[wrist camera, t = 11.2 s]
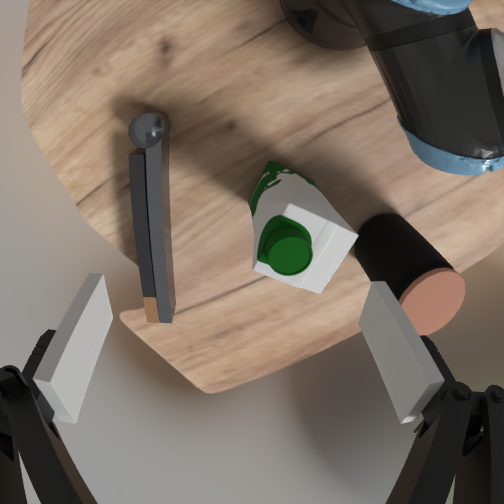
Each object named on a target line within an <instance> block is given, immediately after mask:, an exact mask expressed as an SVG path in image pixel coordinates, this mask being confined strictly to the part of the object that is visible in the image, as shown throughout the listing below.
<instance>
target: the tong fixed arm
mask: <svg viewBox="0 0 504 504" xmlns="http://www.w3.org/2000/svg"><path fill="white" fill-rule="evenodd" d="M169 131H170V120H169V118H168V116H167V115H166V114H165V113H163V112H161V111H158V110H154V111H150V112H147V113H144V114H141V115H139V116H137V117H136V118H134V119H133V121H132V122H131V124H130V126H129V137H130V139H131V141H132V142H133V143H134V144H135V145H136V146H138V147H140V148H146V174H147V196H148V212H149V227H150V239H151V250H152V261H153V270H154V279H155V288H156V296H157V304H158V311H159V318H160V323H172V321H173V316H174V311H175V306H176V300H175V288H174V275H173V261H172V244H171V224H170V195H169Z"/></svg>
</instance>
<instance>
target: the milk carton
mask: <svg viewBox="0 0 504 504" xmlns="http://www.w3.org/2000/svg"><path fill="white" fill-rule="evenodd" d="M248 204H249V207H250V210H251V213H252V220H253V227H254V234H255V239H254V254H253V266H252V269H253V271H255V272H258V273H261V274H263V275H266V276H269V277H271V278H274V279H277V280H279V281H282V282H285V283H287V284H289V285H291V286H294V287H297V288H300V287H301V288H304V289H307V290H310V291H312V292H315V293H318V294H320V293H321V292H322V290H323V289H324V287H325V286H326V284H327V283H328V281H329V280H330V279H331V277H332V276H333V274H334V273H335V271H336V270H337V268H338V267H339V265H340V264H341V262H342V261H343V259H344V257H345V256H346V254H347V253H348V251H349V250H350V248H351V247H352V245H353V244H354V242H355V240H356V239H357V237H358V236H359V235H358V234H357V233H356V232H355V231H354V230H353V229H352V228H351V227H350V226H349V224H348V223H347V222H346V221H345V220H344V219H343V218H342V217H341V216H340V215H339V214H338V213H337V212H336V210H335V209H334V208H333V207H332V206H331V205H330V203H329V202H328V200H327V199H326V198H325V197H324V195H323V194H322V193H321V191H320V190H319V189H318V187H317V186H316V185H315V184H314V182H313V181H312V180H311V179H309V178H307V177H305V176H303V175H301V174H299V173H297V172H295V171H293V170H290V169H288V168H286V167H284V166H281V165H279V164H277V163H274V162H272V161H270V160H269V161H268V163H267V165H266V167H265V169H264V171H263V173H262V175H261V177H260V179H259V181H258V183H257V185H256V187H255V189H254V191H253V193H252V195H251V197H250V199H249V201H248Z"/></svg>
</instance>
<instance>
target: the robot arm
mask: <svg viewBox="0 0 504 504" xmlns="http://www.w3.org/2000/svg"><path fill="white" fill-rule="evenodd" d="M471 2H472V0H280V3H281V7H282V10H283V12H284V15H285V17H286V18H287V20H288V21H289V23H290V24H291V25H292V27H293V28H294V29H295V30H296V31H297V32H298V33H299V34H301V35H302V36H303V37H305V38H306V39H308V40H309V41H311V42H313V43H315V44H317V45H319V46H322V47H325V48H329V49H335V50H350V49H356V48H360V47H363V46H366V45H367V47H368V49H369V52H370V54H371V56H372V58H373V60H374V62H375V64H376V66H377V68H378V70H379V72H380V74H381V77H382V79H383V81H384V83H385V85H386V88H387V90H388V92H389V95H390V97H391V99H392V102H393V104H394V107H395V109H396V112H397V114H398V115H397V118H398V122H399V124H400V126H401V128H402V129H403V130H404V132H405V134H406V136H407V139H408V141H409V144H410V146H411V148H412V150H413V152H414V153H415V154H416V155H417V156H418V157H419V159H421V160H422V161H423V162H424V163H426V164H427V165H429V166H431V167H433V168H435V169H437V170H440V171H443V172H447V173H452V174H458V175H480V174H484V173H485V171H486V170H489V171H492V172H493V171H496V170H498V169H500V168H502V167H503V166H504V33H503V32H501V31H500V30H499V29H497V28H489V29H481V30H480V29H478V28H477V26H476V24H475V21H474V19H473V17H472V14H471V12H470V10H469V8H468V6H469V4H470V3H471ZM112 319H113V316H112V311H111V307H110V303H109V298H108V294H107V290H106V285H105V280H104V276H103V274H92V273H89V275H88V277H87V278H86V280H85V281H84V283H83V285H82V286H81V288H80V290H79V292H78V293H77V295H76V297H75V298H74V300H73V302H72V304H71V305H70V307H69V309H68V311H67V313H66V314H65V316H64V318H63V320H62V322H61V323H60V325H59V327H58V329H57V330H50V329H48V330H47V331H46V332H45V333H44V334H43V335H42V336H41V337H40V338H39V340H38V342H37V344H36V347H35V348H34V350H33V351H32V354H31V355H30V357H29V359H28V361H27V363H26V365H25V367H24V369H23V371H22V373H21V372H20V370H19V369H18V368H17V367H15V366H12V365H7V366H4V367H2V368H0V504H27V499H26V495H25V490H24V485H23V479H22V473H21V467H20V460H19V453H20V456H21V458H22V461H23V463H24V466H25V469H26V471H27V473H28V475H29V478H30V480H31V482H32V485H33V487H34V489H35V492H36V494H37V496H38V498H39V500H40V502H41V504H97V502H96V500H95V498H94V497H93V495H92V494H91V492H90V491H89V489H88V487H87V485H86V484H85V482H84V480H83V479H82V477H81V476H80V473H79V472H78V470H77V468H76V466H75V464H74V463H73V461H72V459H71V457H70V455H69V453H68V451H67V449H66V447H65V445H64V443H63V441H62V439H61V437H60V434H59V432H58V430H57V428H56V426H55V424H54V422H53V421H52V419H53V416H54V413H55V414H56V415H57V417H58V418H59V420H61V421H65V422H69V423H73V424H76V422H77V418H78V415H79V412H80V409H81V405H82V402H83V399H84V396H85V393H86V390H87V387H88V384H89V381H90V378H91V375H92V373H93V370H94V367H95V364H96V361H97V359H98V356H99V353H100V350H101V348H102V345H103V342H104V340H105V337H106V335H107V332H108V329H109V327H110V324H111V322H112ZM359 325H360V328H361V330H362V332H363V334H364V337H365V339H366V341H367V343H368V346H369V348H370V350H371V352H372V355H373V357H374V359H375V362H376V364H377V366H378V369H379V371H380V373H381V376H382V378H383V381H384V383H385V385H386V388H387V390H388V393H389V395H390V398H391V400H392V402H393V405H394V407H395V410H396V413H397V415H398V418H399V420H400V423H406V422H410V421H414V420H416V419H417V418H418V416H419V415H420V414H421V412H422V414H423V417H424V419H423V420H422V422H421V423H420V424H419V425H418V427H417V428H416V429H415V430H414V433H416V432H417V431H418V432H417V435H416V438H415V440H414V443H413V445H412V448H411V450H410V452H409V455H408V458H407V460H406V462H405V464H404V467H403V469H402V471H401V473H400V475H399V477H398V479H397V482H396V484H395V486H394V488H393V490H392V492H391V494H390V496H389V498H388V500H387V502H386V504H445V503H446V500H447V497H448V494H449V492H450V489H451V486H452V483H453V479H454V476H455V487H454V497H453V504H504V389H503V388H501V387H500V386H497V385H491V386H489V387H488V388H487V389H486V391H485V392H473V391H471V390H470V388H469V387H468V386H467V385H465V384H464V383H461V382H456V381H455V379H454V377H453V375H452V373H451V372H450V370H449V368H448V367H447V365H446V363H445V362H444V360H443V359H442V356H441V355H440V353H439V352H438V349H437V348H436V347H435V345H434V343H433V342H432V341H431V340H430V339H429V338H428V337H427V336H426V335H421V336H419V335H418V333H417V331H416V330H415V328H414V326H413V325H412V323H411V321H410V320H409V318H408V316H407V315H406V313H405V312H404V310H403V308H402V307H401V305H400V304H399V302H398V301H397V299H396V297H395V296H394V294H393V293H392V291H391V290H390V288H389V287H388V285H387V284H386V282H385V281H372V283H371V287H370V290H369V293H368V296H367V299H366V302H365V305H364V308H363V311H362V314H361V317H360V320H359ZM418 429H419V430H418ZM18 450H19V452H18ZM455 473H456V474H455Z"/></svg>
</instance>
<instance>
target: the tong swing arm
mask: <svg viewBox="0 0 504 504" xmlns="http://www.w3.org/2000/svg"><path fill="white" fill-rule="evenodd" d="M129 170H130V185H131V199H132V210H133V221H134V231H135V240H136V248H137V256H138V264H139V270H140V278H141V285H142V291H143V300H144V306H145V312H146V317H147V322H156V323H160V318H159V311H158V304H157V296H156V288H155V279H154V270H153V261H152V250H151V239H150V227H149V212H148V196H147V174H146V148H138V149H136V150H135V151H134V152H132V153H131V154H130V155H129Z"/></svg>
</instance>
